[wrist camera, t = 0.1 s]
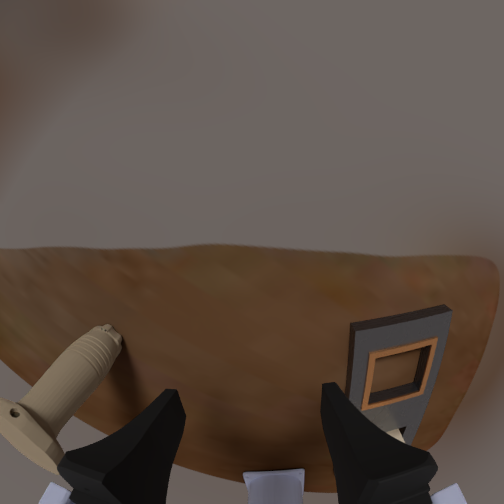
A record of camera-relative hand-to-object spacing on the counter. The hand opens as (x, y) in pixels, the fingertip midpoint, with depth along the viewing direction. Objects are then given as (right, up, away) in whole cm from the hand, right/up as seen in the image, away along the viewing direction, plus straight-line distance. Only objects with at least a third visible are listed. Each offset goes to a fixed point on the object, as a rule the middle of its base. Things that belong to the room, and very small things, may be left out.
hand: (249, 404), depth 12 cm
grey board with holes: (+15, -10, +12) cm, 21 cm away
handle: (-13, -1, +11) cm, 18 cm away
